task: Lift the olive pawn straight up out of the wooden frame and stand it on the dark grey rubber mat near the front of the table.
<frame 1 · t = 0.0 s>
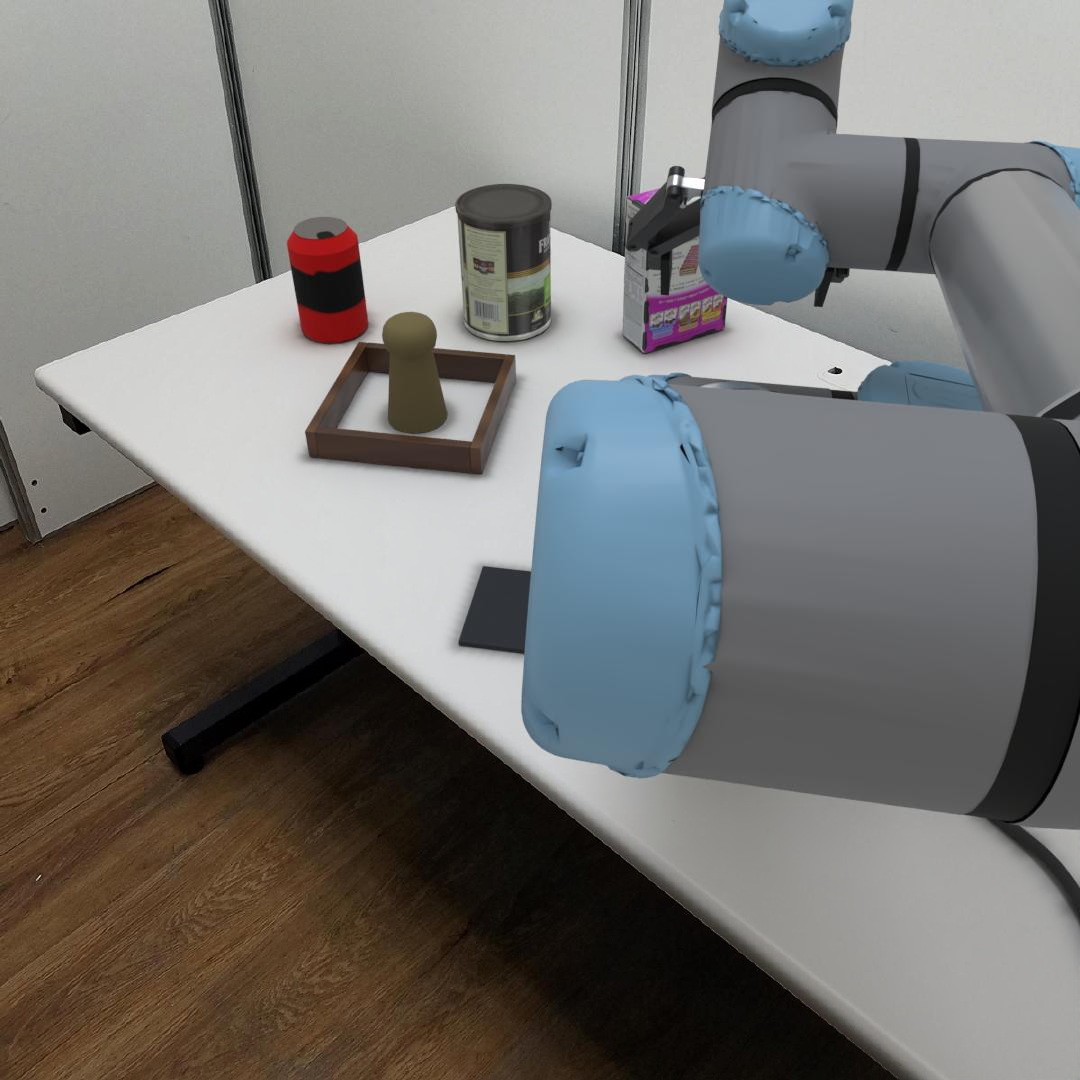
hand: (742, 287, 96), 15 cm above the table, tool tilted 35°, fingers open, 13 cm apart
coffee can: (507, 321, 123), on the table
mat: (525, 612, 86), on the table
olive pawn: (417, 417, 108), resting in wooden frame
candy bar box: (672, 334, 120), on the table
soda can: (335, 329, 122), on the table
wooden frame: (417, 416, 108), on the table
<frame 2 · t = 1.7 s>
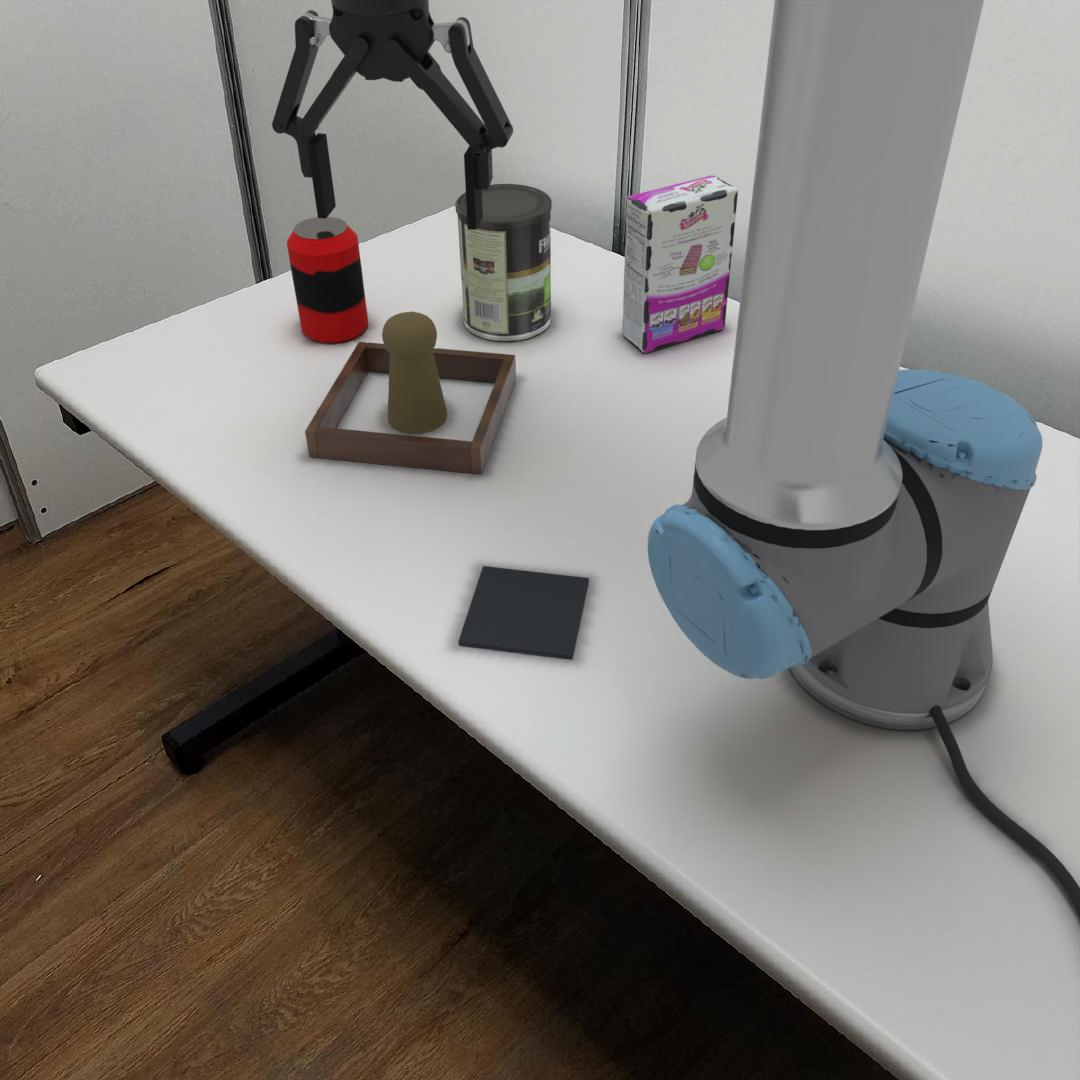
hand: (400, 218, 94), 21 cm above the table, tool pointing down, fingers open, 13 cm apart
nothing on the table moved.
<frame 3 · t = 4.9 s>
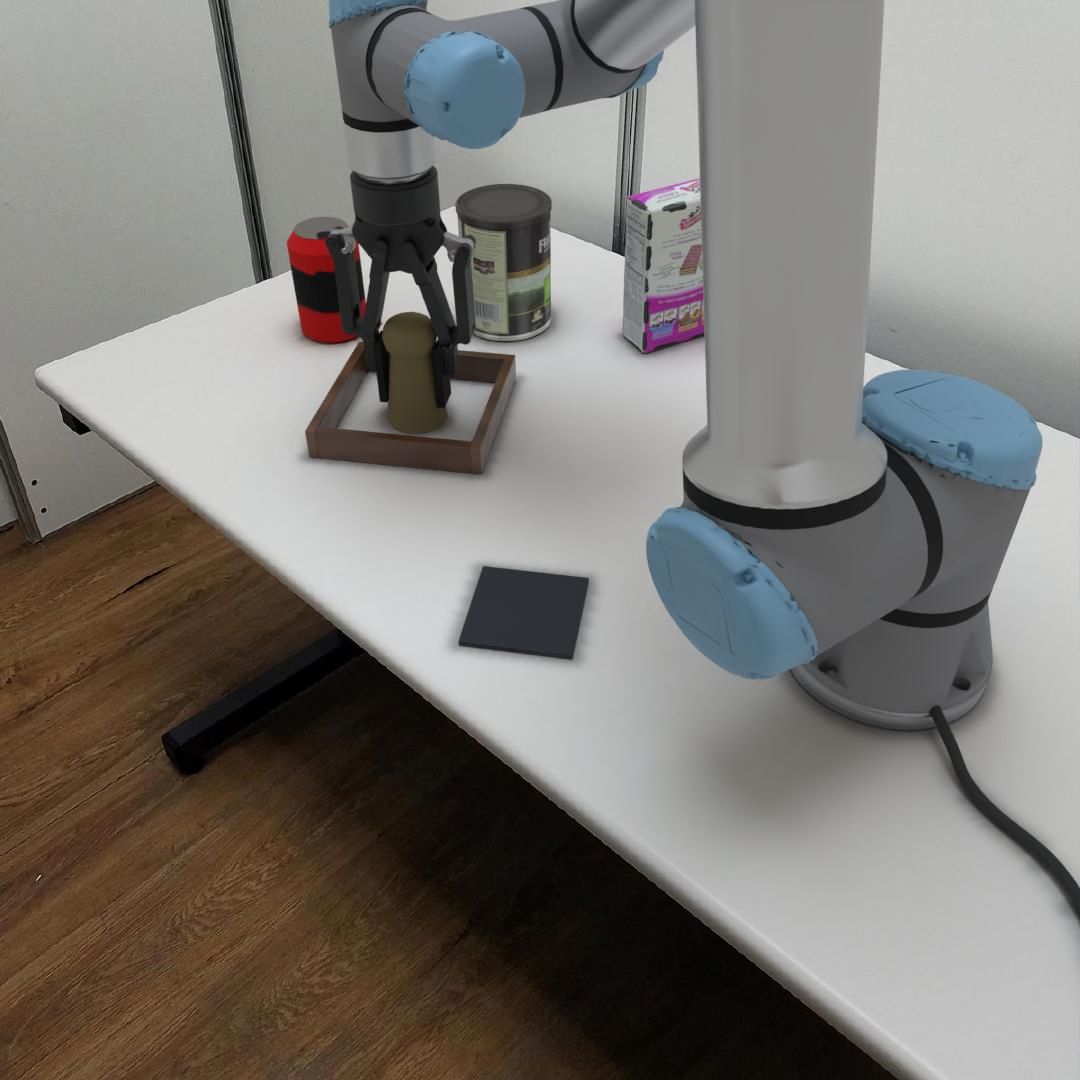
hand: (415, 397, 106), 2 cm above the table, tool pointing down, fingers closed on olive pawn, 5 cm apart
olive pawn: (417, 417, 108), resting in wooden frame, touching gripper
everything else where it was.
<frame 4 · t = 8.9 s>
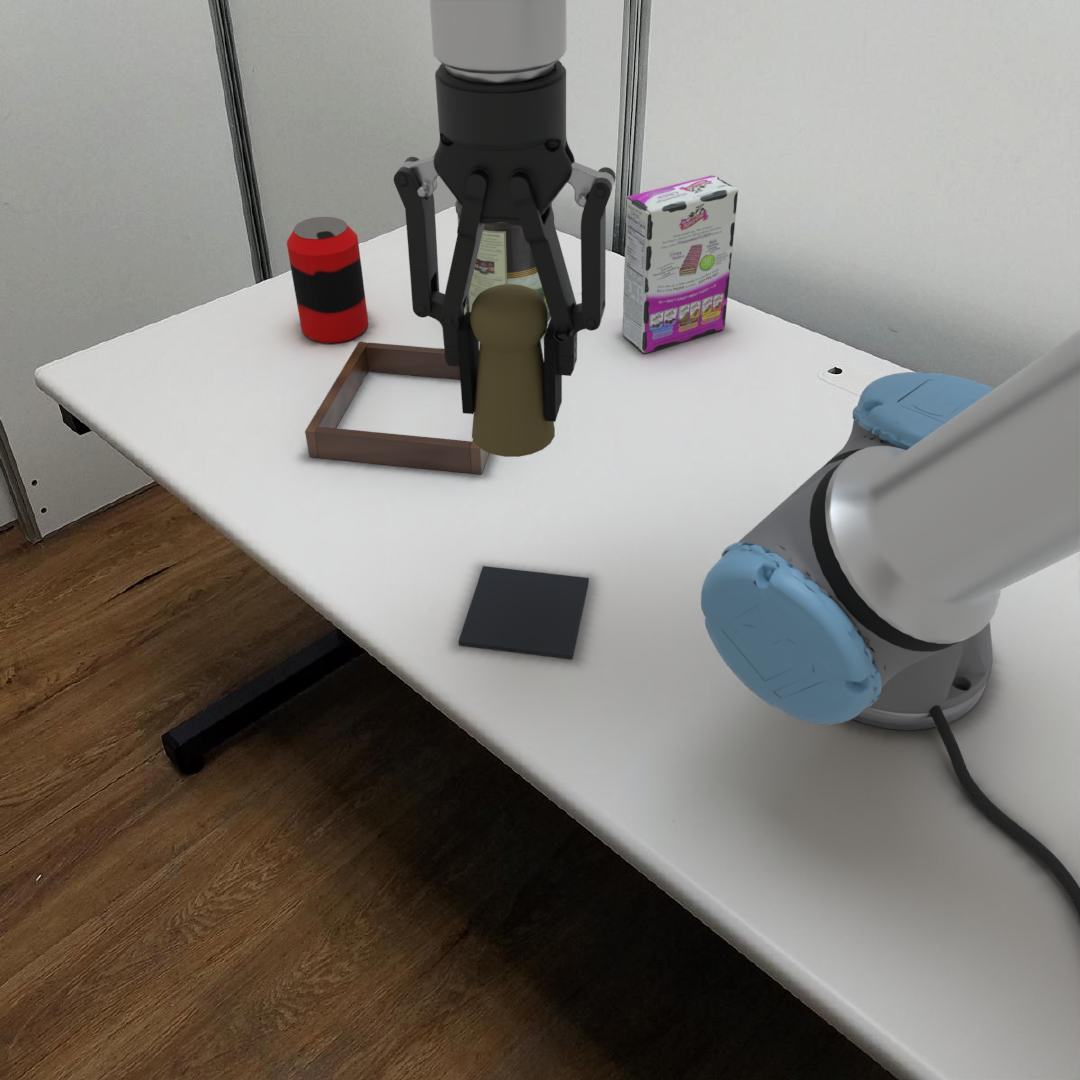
hand: (512, 406, 75), 18 cm above the table, tool pointing down, fingers closed on olive pawn, 5 cm apart
olive pawn: (513, 434, 77), point 16 cm above the table, touching gripper
everything else where it was.
when the fingers open (3 cm above the table, at t = 12.9 s): olive pawn stays where it is, resting on mat.
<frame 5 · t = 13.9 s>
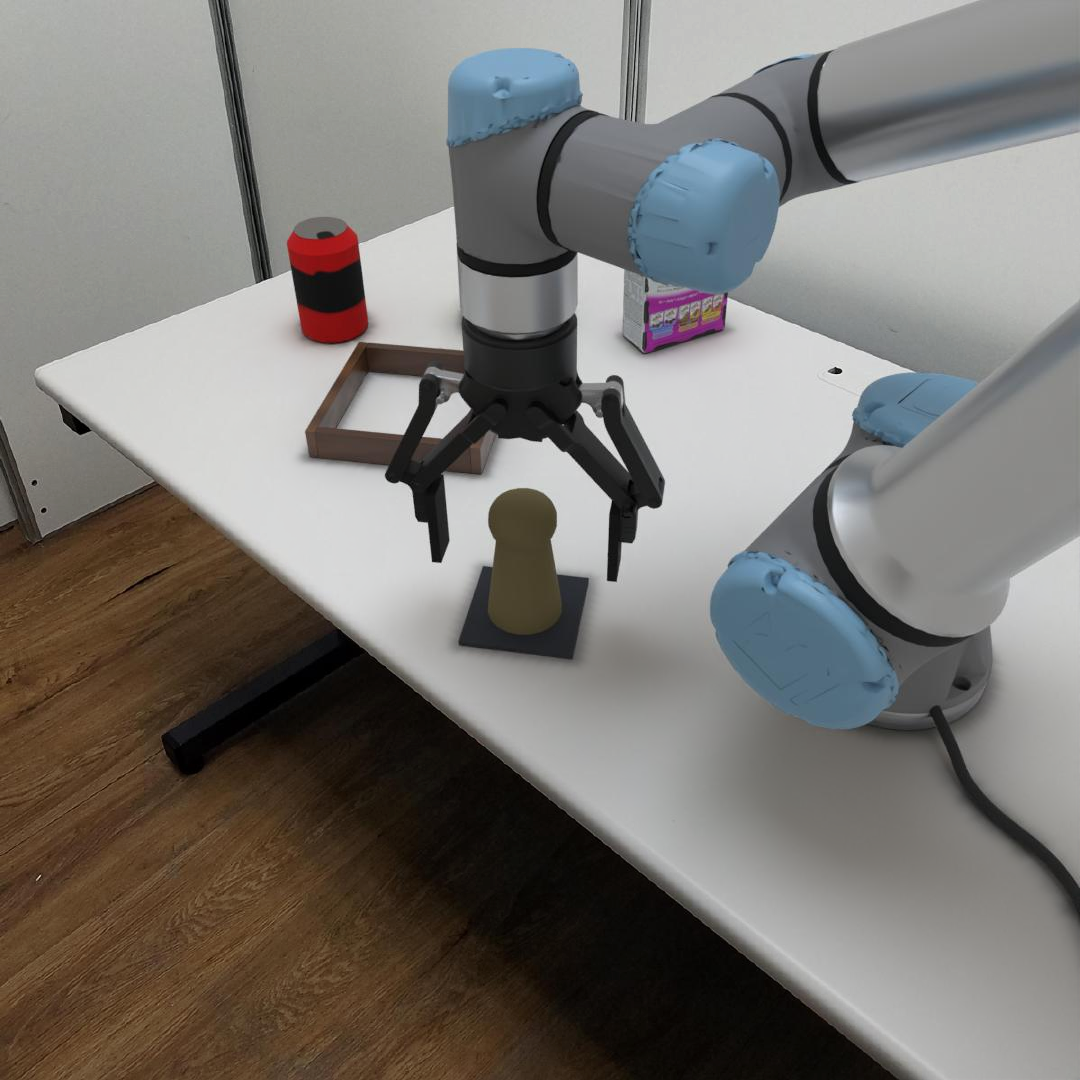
hand: (526, 560, 82), 6 cm above the table, tool pointing down, fingers open, 13 cm apart
olive pawn: (524, 609, 86), resting on mat
everything else where it was.
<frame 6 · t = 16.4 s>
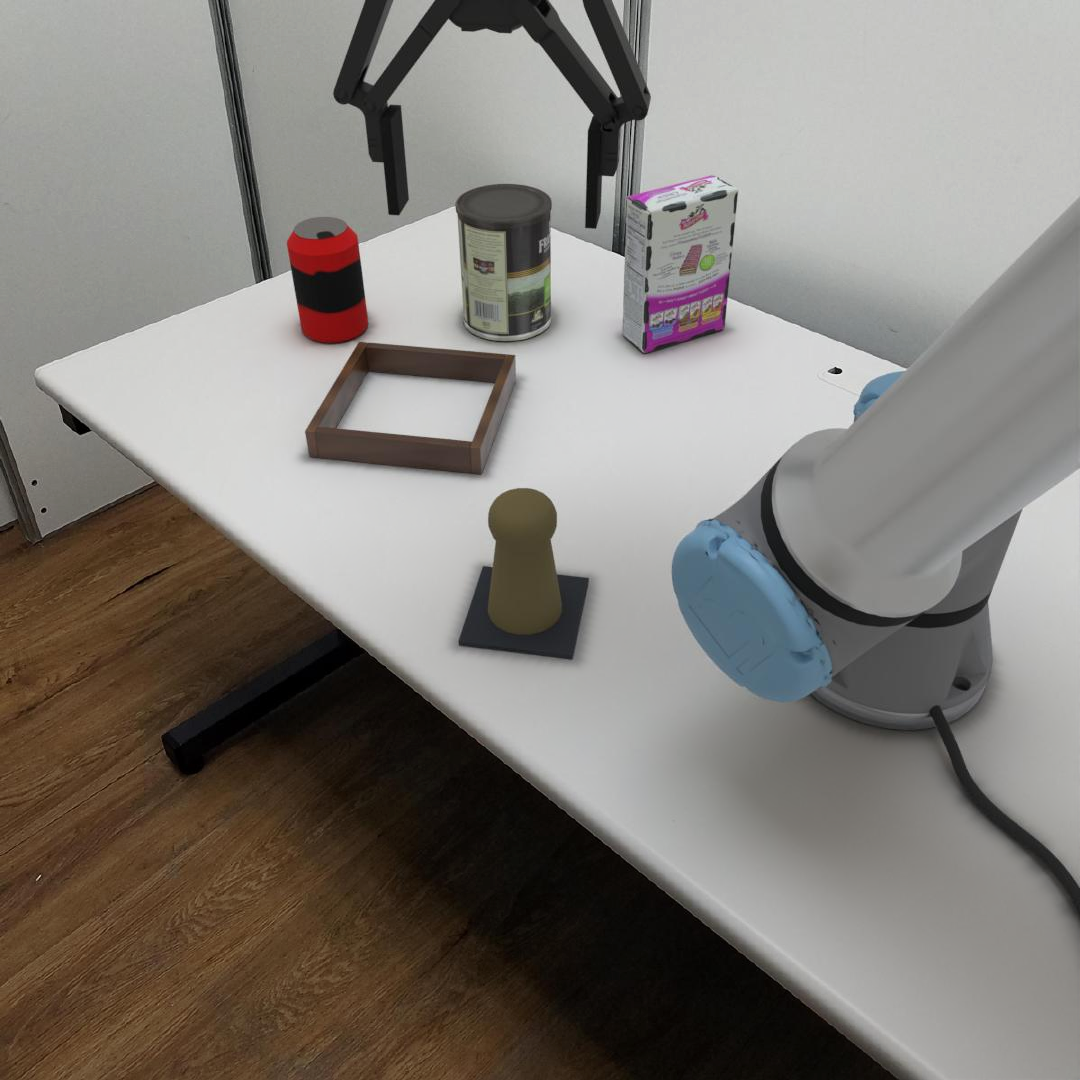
hand: (494, 214, 73), 30 cm above the table, tool pointing down, fingers open, 13 cm apart
nothing on the table moved.
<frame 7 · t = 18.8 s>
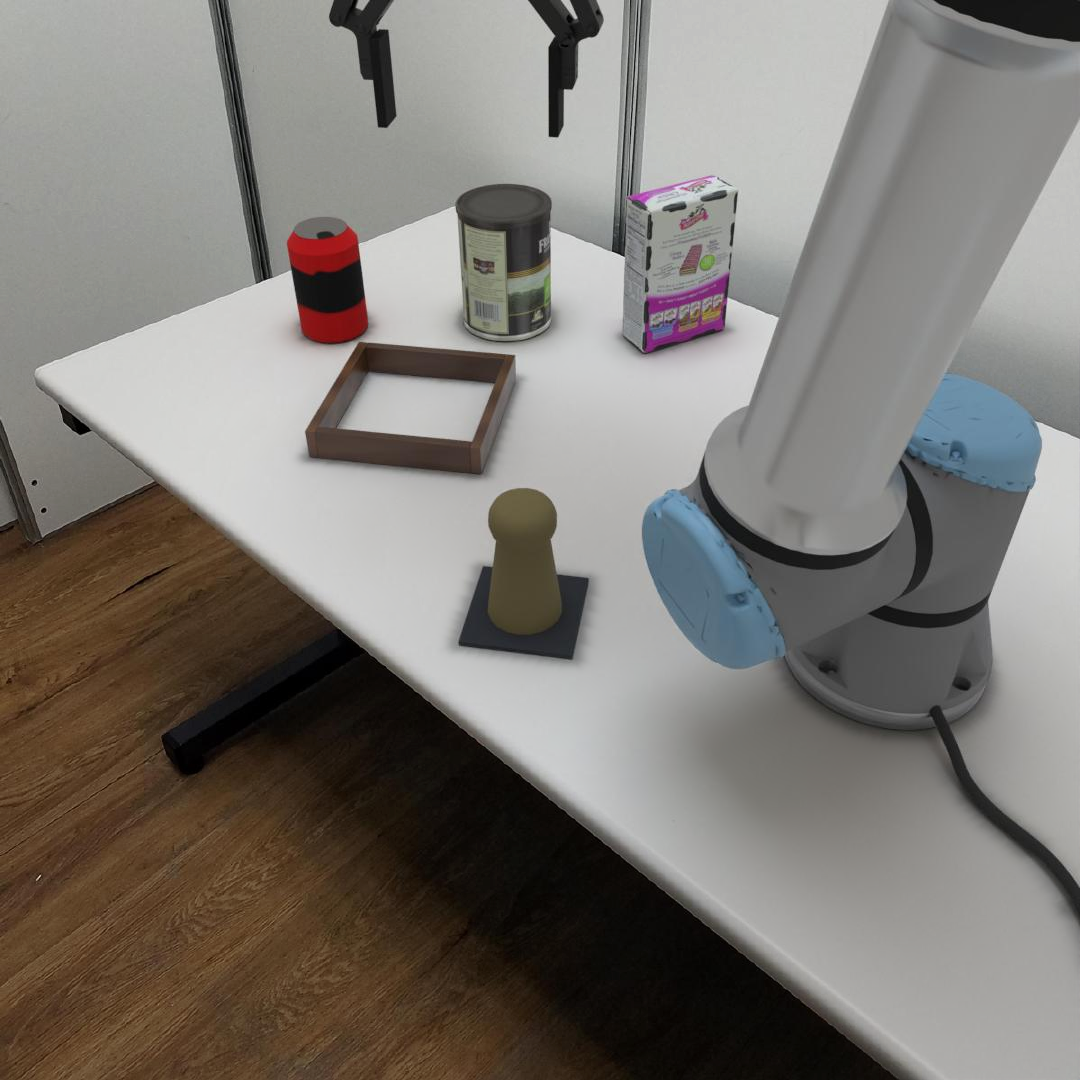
hand: (470, 127, 84), 31 cm above the table, tool pointing down, fingers open, 13 cm apart
nothing on the table moved.
at the end: olive pawn inside the target area on the mat (0.1 cm from its centre), point 0.2 cm above the mat's base; olive pawn tilted 0°; olive pawn touching mat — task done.
